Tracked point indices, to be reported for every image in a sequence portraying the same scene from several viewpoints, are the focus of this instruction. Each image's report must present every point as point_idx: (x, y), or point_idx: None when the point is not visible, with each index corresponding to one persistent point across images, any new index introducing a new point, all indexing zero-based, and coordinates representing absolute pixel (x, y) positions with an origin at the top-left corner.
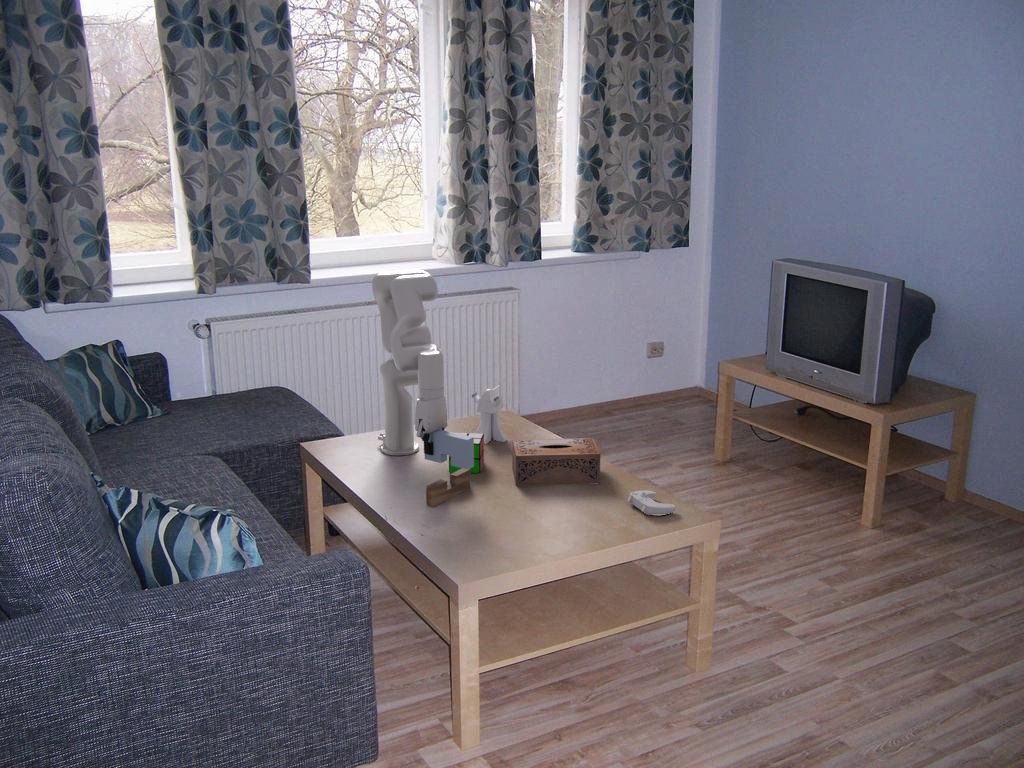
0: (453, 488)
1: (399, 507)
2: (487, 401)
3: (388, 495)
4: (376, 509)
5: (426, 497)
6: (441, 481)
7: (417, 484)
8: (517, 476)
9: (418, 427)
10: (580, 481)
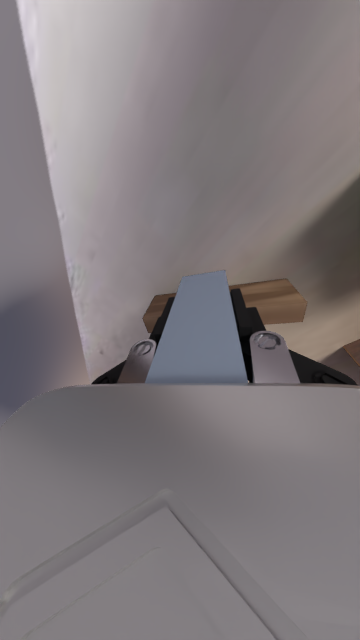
0: None
1: (108, 266)
2: None
3: (111, 183)
4: (62, 240)
5: (150, 304)
6: None
7: (221, 169)
8: (357, 363)
9: (64, 407)
10: None
